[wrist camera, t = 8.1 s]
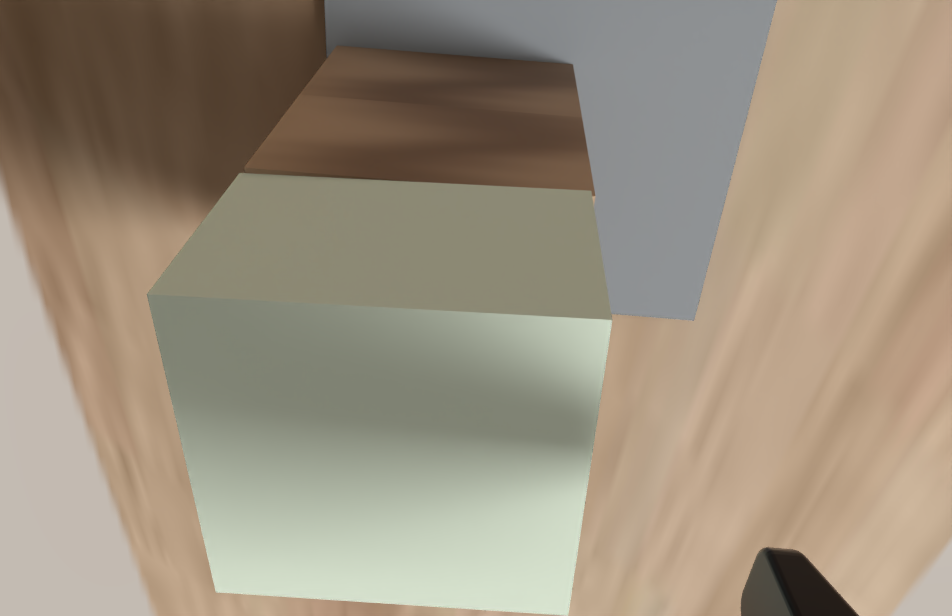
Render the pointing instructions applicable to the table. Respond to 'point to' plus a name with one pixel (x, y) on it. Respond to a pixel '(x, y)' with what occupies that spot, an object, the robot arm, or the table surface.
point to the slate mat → (617, 111)
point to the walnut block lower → (447, 81)
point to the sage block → (389, 388)
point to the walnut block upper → (425, 145)
